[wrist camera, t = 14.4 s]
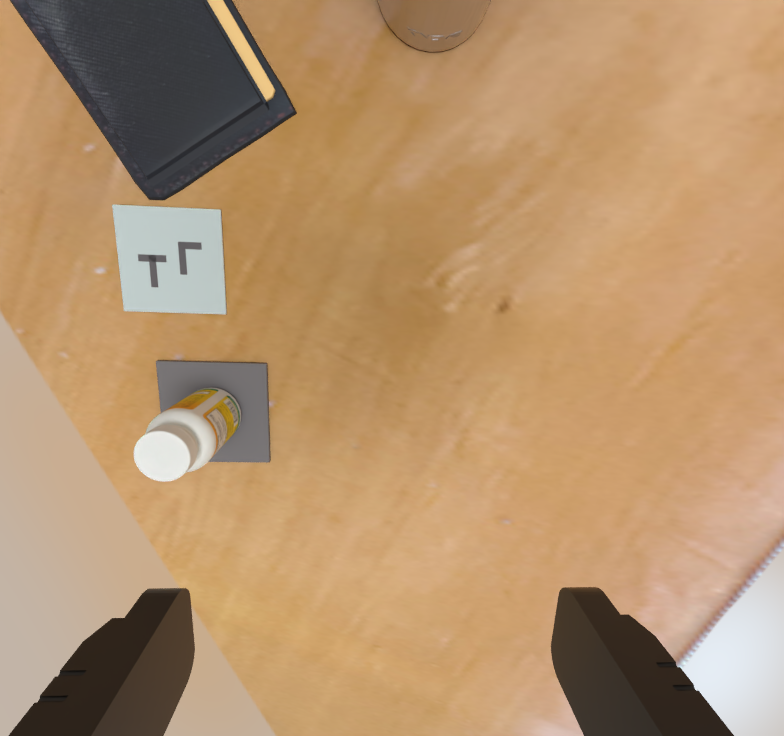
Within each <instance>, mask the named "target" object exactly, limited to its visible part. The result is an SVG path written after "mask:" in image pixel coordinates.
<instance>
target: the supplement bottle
mask: <svg viewBox="0 0 784 736" xmlns="http://www.w3.org/2000/svg"><path fill="white" fill-rule="evenodd" d="M240 422H241V410H240V407H239V404H238V403H237V401H236V400H235V398H234V397H233V396H232V395H231V394H229V393H228V392H226V391H224V390H222V389H218V388H203V389H200V390H198V391H195V392H194V393H192V394H191V395H189V396H187V397H186V398H184V399H183V400H181V401H179V402H178V403H176V404H175V405H173V406H171V407H170V408H168V409H167V410H165V411H163V412H162V413H160V414H159V415H157V416H156V417H155V418H154V419H153V420H152V421H151V422H150V424H149V426H148V428H147V430H146V434H145V435H143V436H142V437H141V438H140V439H139V440H138V442H137V443H136V445H135V448H134V460H135V463H136V465H137V467H138V468H139V470H140V471H141V472H142V473H143V474H144V475H146V476H147V477H149V478H151V479H153V480H157V481H163V482H164V481H173V480H176V479H178V478H180V477H181V476H182V475H184V474H185V473H186V472H191V471H194V470H197V469H199V468H201V467H202V466H204V465H205V464H206V463H207V462H208V461H209V460H210V459H211V458H212V457H213V456H214V455H215V454H216V453H217V452H218V451H219V449H220V448H221V447H222V446H223V445H224V444H225V443H226V442H227V440H228V439H229V438H230V437H231V436H232V435H233V434H234V433H235V432H236V430H237V429H238V427H239V425H240Z"/></svg>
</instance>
